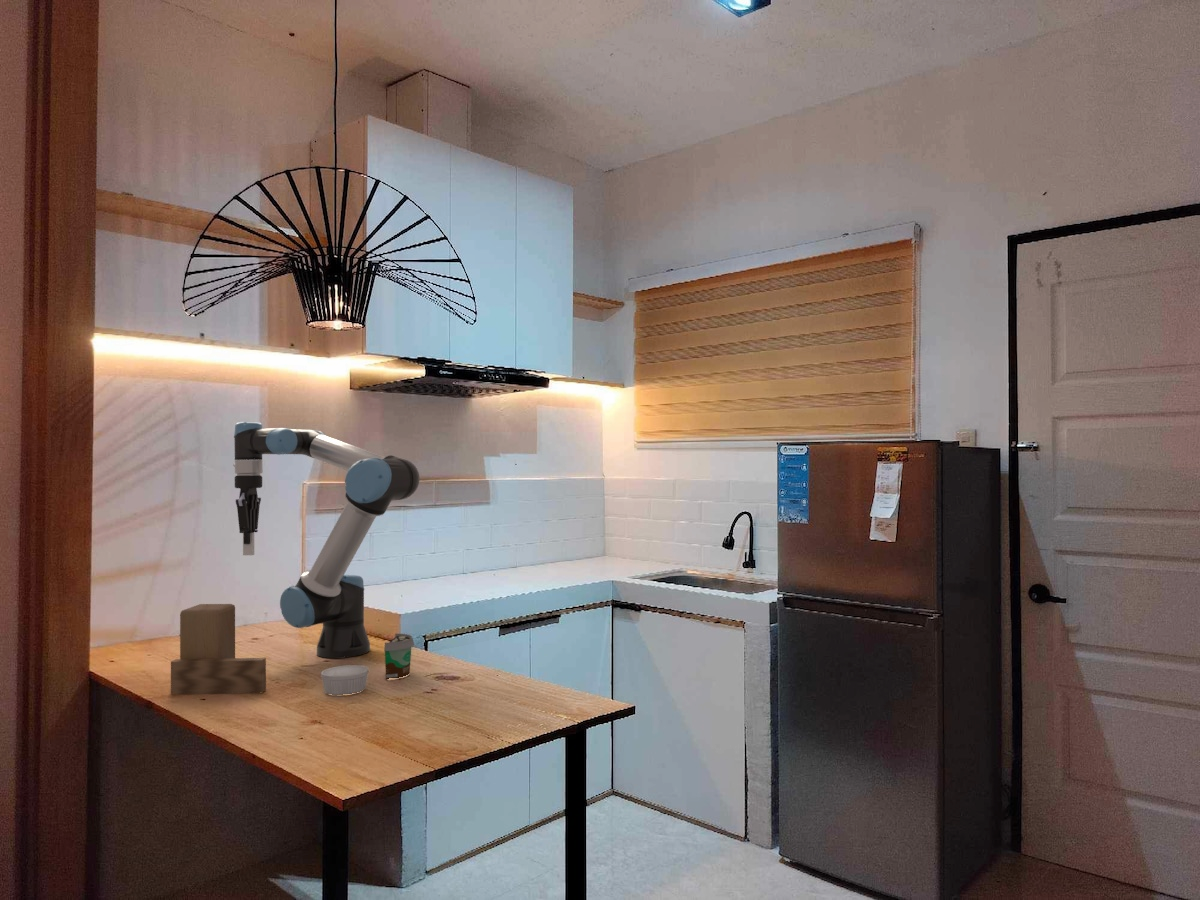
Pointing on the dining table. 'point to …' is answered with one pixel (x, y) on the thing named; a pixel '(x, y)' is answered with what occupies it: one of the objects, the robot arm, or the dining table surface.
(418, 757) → the dining table surface
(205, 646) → the block
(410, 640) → the food container
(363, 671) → the ramekin
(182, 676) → the board
